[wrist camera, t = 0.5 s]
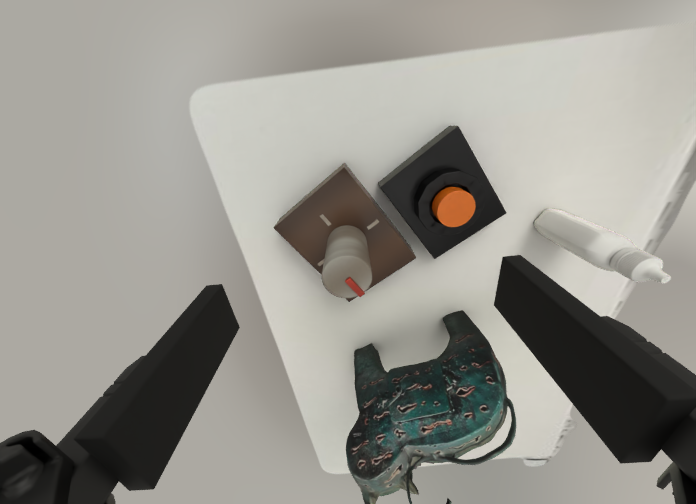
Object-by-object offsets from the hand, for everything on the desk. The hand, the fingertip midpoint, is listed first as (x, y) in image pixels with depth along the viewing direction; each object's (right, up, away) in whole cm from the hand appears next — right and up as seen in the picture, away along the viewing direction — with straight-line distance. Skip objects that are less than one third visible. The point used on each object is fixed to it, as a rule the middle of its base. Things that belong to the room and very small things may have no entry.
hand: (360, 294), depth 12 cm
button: (+10, +7, +13) cm, 18 cm away
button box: (+10, +9, +17) cm, 21 cm away
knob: (-1, +3, +16) cm, 16 cm away
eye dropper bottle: (+24, +5, +18) cm, 31 cm away
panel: (-1, +4, +19) cm, 19 cm away
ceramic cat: (+8, -11, +27) cm, 30 cm away
